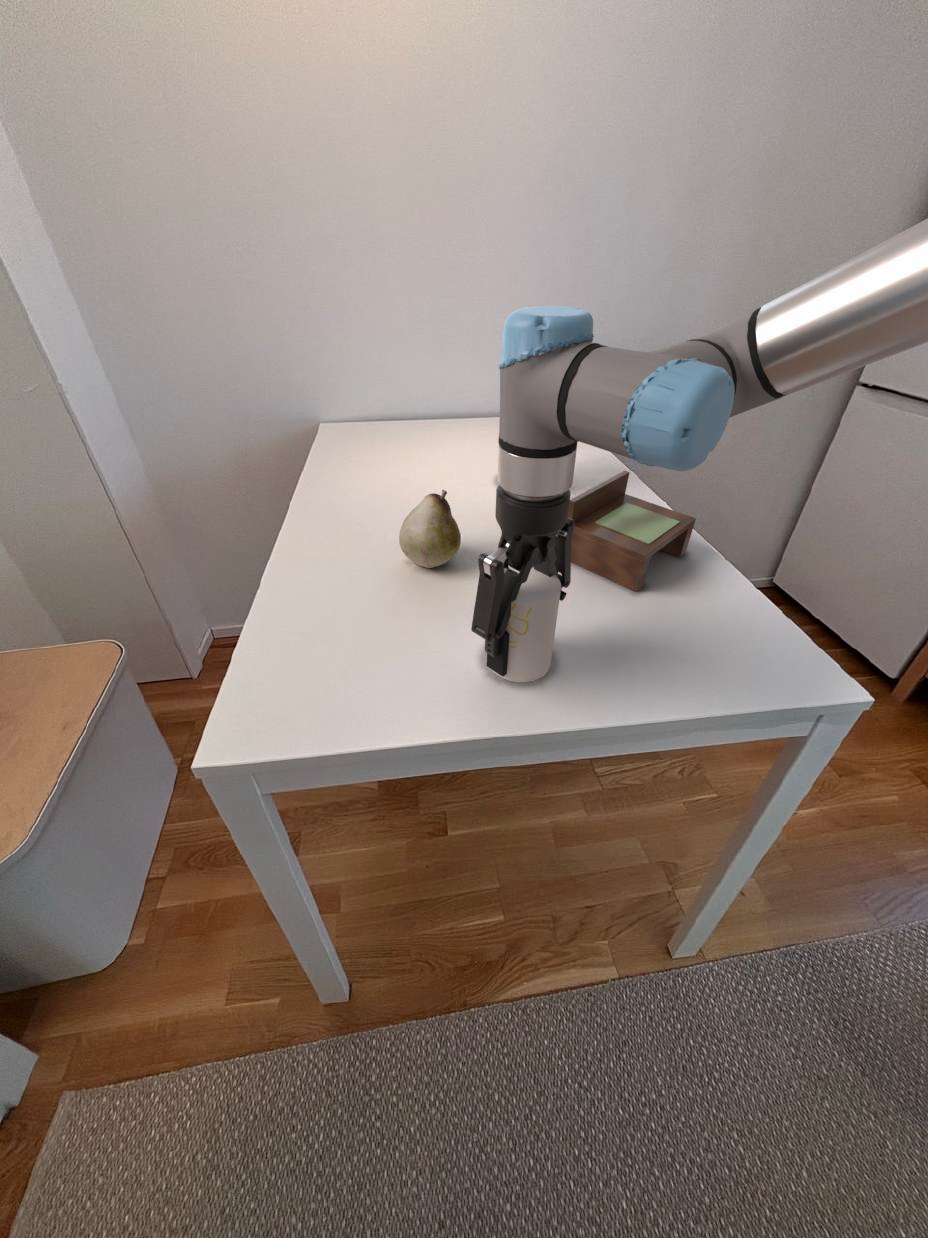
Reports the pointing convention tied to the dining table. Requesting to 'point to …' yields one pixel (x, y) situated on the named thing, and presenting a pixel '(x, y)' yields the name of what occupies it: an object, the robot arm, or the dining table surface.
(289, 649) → the dining table surface
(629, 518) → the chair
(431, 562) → the fruit
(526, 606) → the white round cylinder
